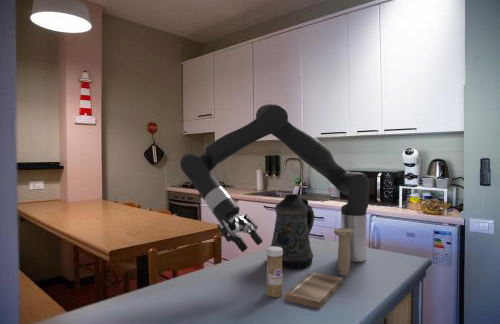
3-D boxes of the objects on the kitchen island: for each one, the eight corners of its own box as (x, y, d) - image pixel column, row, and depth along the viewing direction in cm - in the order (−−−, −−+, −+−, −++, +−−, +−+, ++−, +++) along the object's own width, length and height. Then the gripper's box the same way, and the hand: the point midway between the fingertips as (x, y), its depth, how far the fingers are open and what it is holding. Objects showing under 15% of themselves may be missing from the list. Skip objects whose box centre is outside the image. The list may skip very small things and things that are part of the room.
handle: (356, 275, 111) (356, 230, 111) (339, 278, 109) (339, 232, 109) (347, 271, 116) (348, 227, 115) (331, 273, 114) (331, 229, 113)
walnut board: (312, 277, 110) (312, 271, 110) (342, 283, 104) (342, 277, 104) (285, 299, 93) (285, 293, 93) (319, 308, 88) (319, 301, 88)
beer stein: (262, 266, 121) (261, 197, 121) (278, 251, 139) (278, 191, 138) (307, 272, 115) (307, 199, 114) (318, 256, 133) (318, 193, 132)
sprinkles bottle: (274, 299, 93) (273, 251, 93) (263, 293, 97) (263, 247, 97) (286, 295, 96) (285, 248, 96) (275, 290, 100) (275, 244, 100)
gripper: (214, 199, 97) (247, 244, 92) (241, 194, 109) (272, 233, 104) (200, 215, 100) (231, 260, 94) (228, 209, 112) (257, 248, 107)
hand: (253, 246), depth 99 cm, fingers open, 8 cm apart
